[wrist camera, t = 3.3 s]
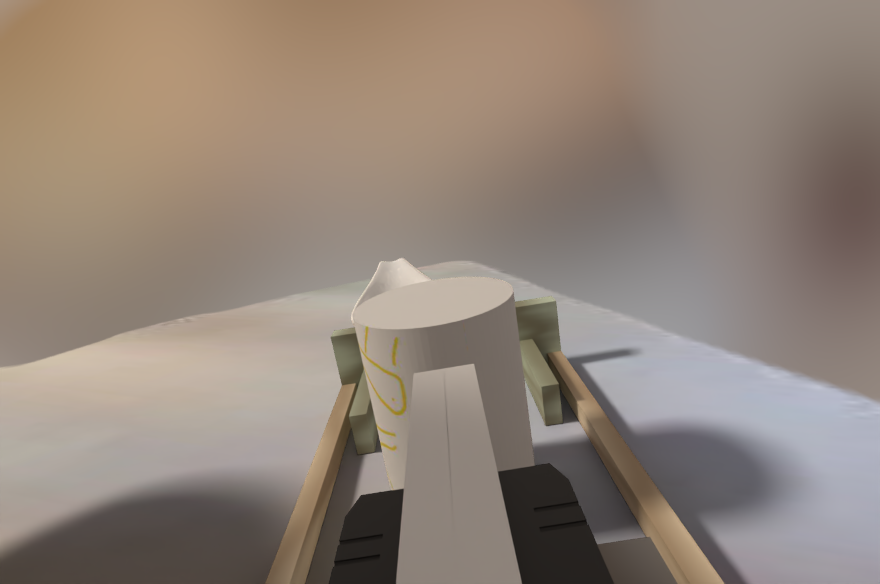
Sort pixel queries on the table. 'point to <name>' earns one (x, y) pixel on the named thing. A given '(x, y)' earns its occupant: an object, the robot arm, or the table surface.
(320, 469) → the wooden tray frame
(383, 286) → the spoon rest
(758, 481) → the table surface
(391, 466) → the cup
